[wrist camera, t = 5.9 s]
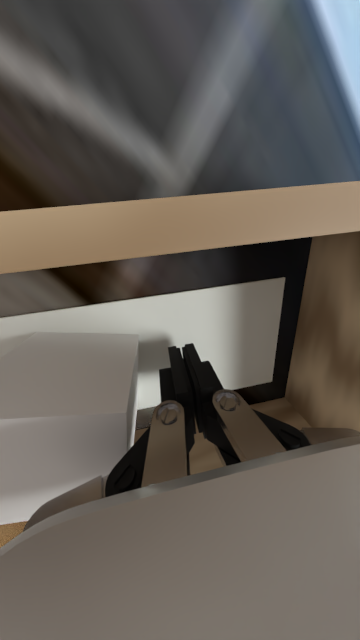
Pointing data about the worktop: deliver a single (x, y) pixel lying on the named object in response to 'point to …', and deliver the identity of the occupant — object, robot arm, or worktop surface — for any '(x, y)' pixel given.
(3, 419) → the white cube
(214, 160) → the worktop surface
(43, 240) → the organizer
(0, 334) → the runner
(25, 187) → the worktop surface
